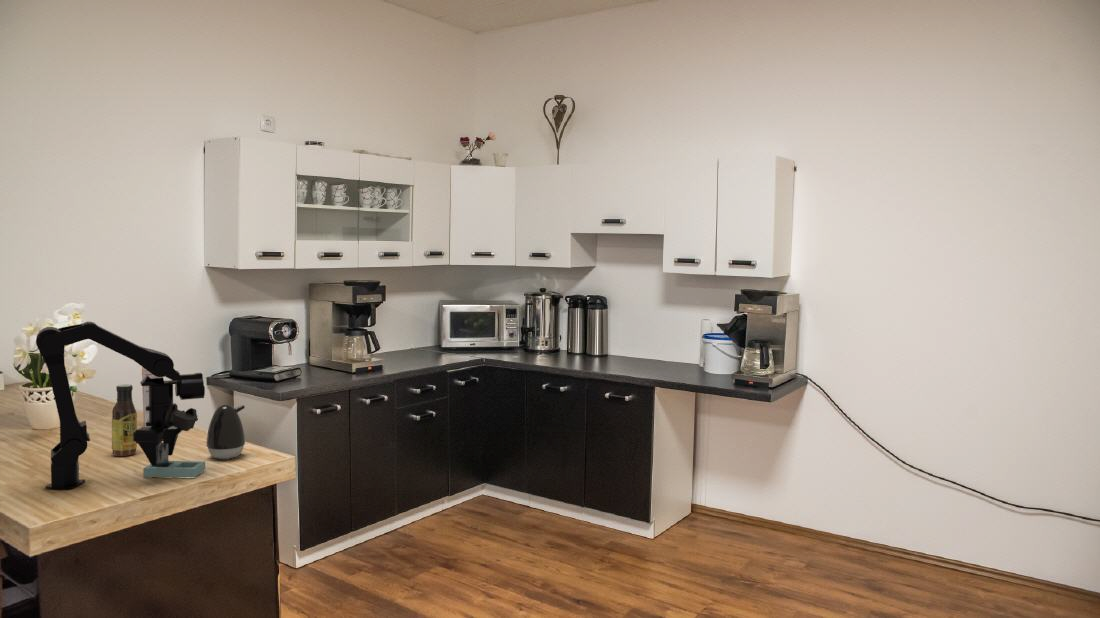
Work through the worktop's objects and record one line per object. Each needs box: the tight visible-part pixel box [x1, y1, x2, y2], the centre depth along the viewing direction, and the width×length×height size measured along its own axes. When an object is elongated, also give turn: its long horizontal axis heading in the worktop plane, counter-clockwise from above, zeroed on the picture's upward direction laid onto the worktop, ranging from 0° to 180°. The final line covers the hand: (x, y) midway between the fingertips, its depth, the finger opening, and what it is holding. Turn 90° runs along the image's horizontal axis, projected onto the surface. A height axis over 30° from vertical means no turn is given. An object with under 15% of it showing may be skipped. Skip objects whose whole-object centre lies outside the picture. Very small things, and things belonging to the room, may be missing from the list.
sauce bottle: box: [111, 383, 138, 457], centre depth 224 cm, size 7×6×20 cm
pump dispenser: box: [205, 403, 246, 460], centre depth 224 cm, size 10×10×15 cm
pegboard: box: [142, 460, 206, 479], centre depth 208 cm, size 7×13×2 cm, turn 92°
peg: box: [156, 442, 170, 467], centre depth 208 cm, size 3×3×8 cm
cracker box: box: [141, 366, 164, 427], centre depth 256 cm, size 14×6×21 cm, turn 25°
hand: (162, 460), depth 208 cm, fingers open, 9 cm apart
